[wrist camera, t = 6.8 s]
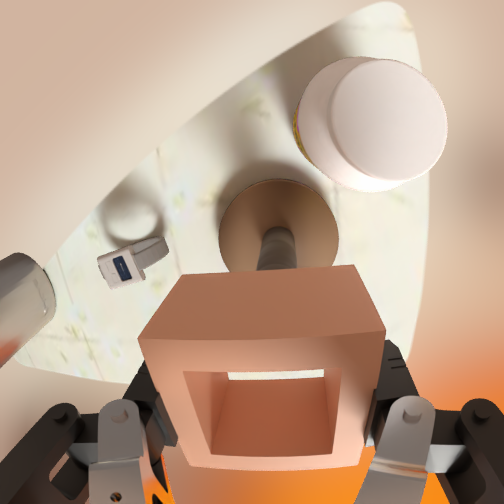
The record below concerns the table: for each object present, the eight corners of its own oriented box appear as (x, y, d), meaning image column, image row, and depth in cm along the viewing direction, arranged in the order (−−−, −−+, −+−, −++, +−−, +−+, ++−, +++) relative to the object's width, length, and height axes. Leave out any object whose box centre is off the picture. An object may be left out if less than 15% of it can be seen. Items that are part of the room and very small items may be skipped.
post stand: (229, 290, 27) (202, 365, 17) (215, 184, 24) (171, 213, 14) (335, 284, 26) (359, 359, 16) (333, 175, 23) (366, 198, 13)
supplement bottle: (287, 89, 21) (291, 31, 9) (373, 87, 20) (456, 42, 8) (296, 175, 23) (311, 213, 11) (380, 171, 22) (469, 205, 10)
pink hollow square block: (210, 394, 13) (190, 465, 9) (182, 274, 11) (137, 338, 7) (345, 391, 12) (357, 465, 9) (353, 264, 10) (386, 329, 7)
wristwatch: (124, 270, 27) (97, 294, 23) (112, 243, 26) (82, 263, 22) (181, 252, 26) (160, 276, 21) (169, 222, 25) (144, 240, 21)
